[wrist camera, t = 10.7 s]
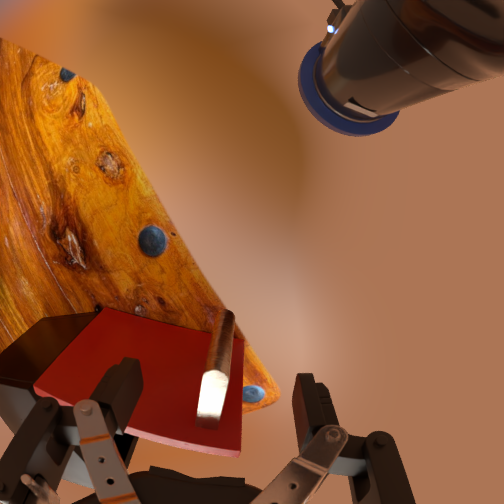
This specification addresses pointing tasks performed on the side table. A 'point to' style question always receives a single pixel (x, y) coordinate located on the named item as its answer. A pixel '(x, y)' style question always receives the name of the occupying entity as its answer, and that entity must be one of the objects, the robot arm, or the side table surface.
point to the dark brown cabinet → (28, 372)
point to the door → (161, 378)
